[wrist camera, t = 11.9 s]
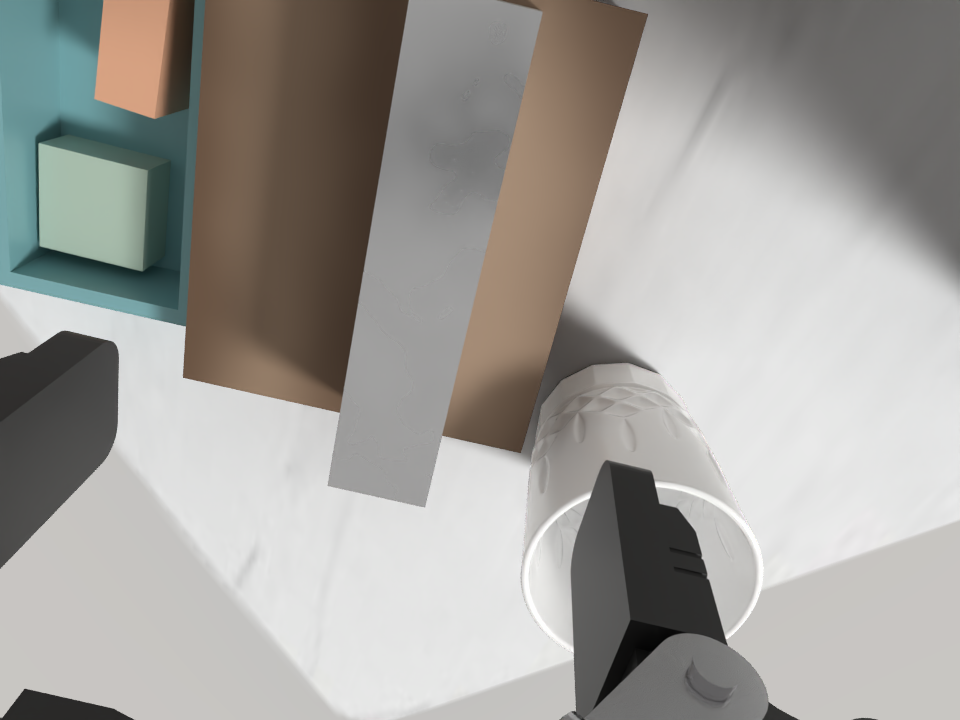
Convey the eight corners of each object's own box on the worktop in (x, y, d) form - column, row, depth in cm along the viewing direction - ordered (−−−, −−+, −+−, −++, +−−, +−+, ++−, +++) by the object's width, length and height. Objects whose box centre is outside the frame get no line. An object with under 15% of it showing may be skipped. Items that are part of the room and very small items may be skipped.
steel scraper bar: (540, 10, 22) (542, 12, 17) (442, 424, 28) (425, 507, 23) (437, -16, 22) (412, -21, 17) (361, 406, 28) (327, 485, 23)
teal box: (259, -46, 27) (217, -54, 23) (230, 291, 32) (193, 327, 29) (47, -99, 27) (-29, -114, 23) (55, 251, 32) (-6, 283, 29)
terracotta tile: (170, -10, 23) (106, -32, 23) (154, 119, 25) (94, 98, 25) (219, -8, 27) (163, -28, 27) (201, 104, 29) (149, 86, 29)
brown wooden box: (624, 12, 27) (647, 14, 22) (522, 379, 33) (520, 453, 28) (276, -75, 26) (210, -95, 21) (240, 315, 33) (182, 377, 27)
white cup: (501, 375, 33) (490, 513, 24) (681, 327, 32) (739, 455, 23) (551, 517, 36) (557, 687, 27) (717, 479, 35) (782, 645, 26)
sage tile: (38, 142, 28) (68, 134, 30) (39, 246, 29) (68, 232, 31) (147, 170, 28) (170, 160, 30) (142, 271, 30) (164, 256, 31)
